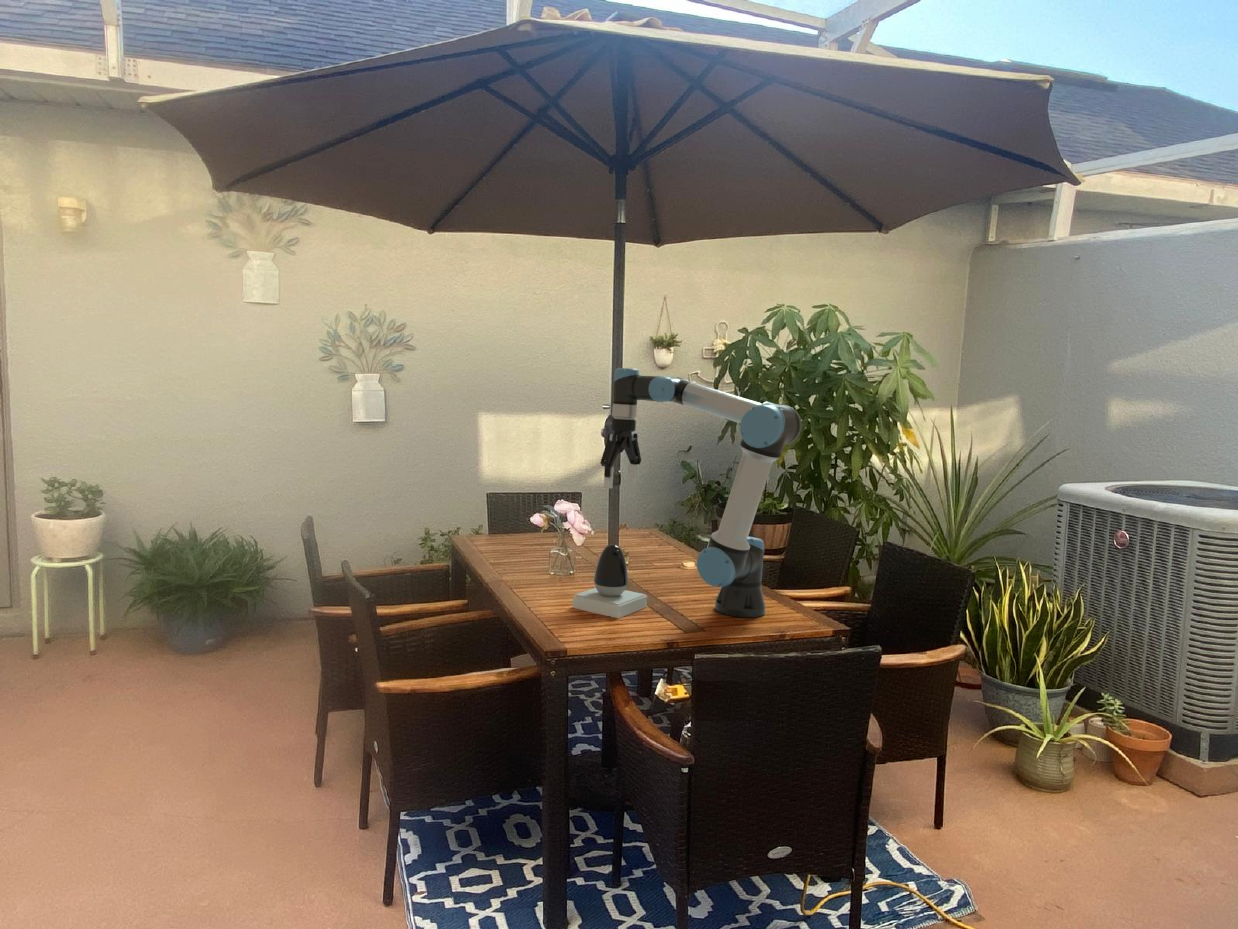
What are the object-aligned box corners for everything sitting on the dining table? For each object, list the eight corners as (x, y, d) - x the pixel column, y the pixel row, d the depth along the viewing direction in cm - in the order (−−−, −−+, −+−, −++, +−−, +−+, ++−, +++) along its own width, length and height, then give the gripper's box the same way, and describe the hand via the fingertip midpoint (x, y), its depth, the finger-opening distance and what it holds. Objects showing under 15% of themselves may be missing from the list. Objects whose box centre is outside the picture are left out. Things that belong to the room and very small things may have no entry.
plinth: (646, 607, 251) (647, 594, 250) (618, 618, 237) (618, 604, 237) (602, 597, 259) (602, 584, 259) (572, 607, 246) (573, 594, 245)
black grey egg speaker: (597, 599, 241) (600, 548, 240) (589, 590, 251) (592, 540, 250) (631, 599, 244) (634, 548, 243) (622, 589, 254) (625, 540, 253)
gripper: (634, 417, 270) (630, 481, 272) (591, 417, 249) (587, 487, 251) (654, 418, 266) (650, 484, 268) (612, 419, 245) (608, 490, 247)
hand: (619, 486), depth 259 cm, fingers open, 13 cm apart
